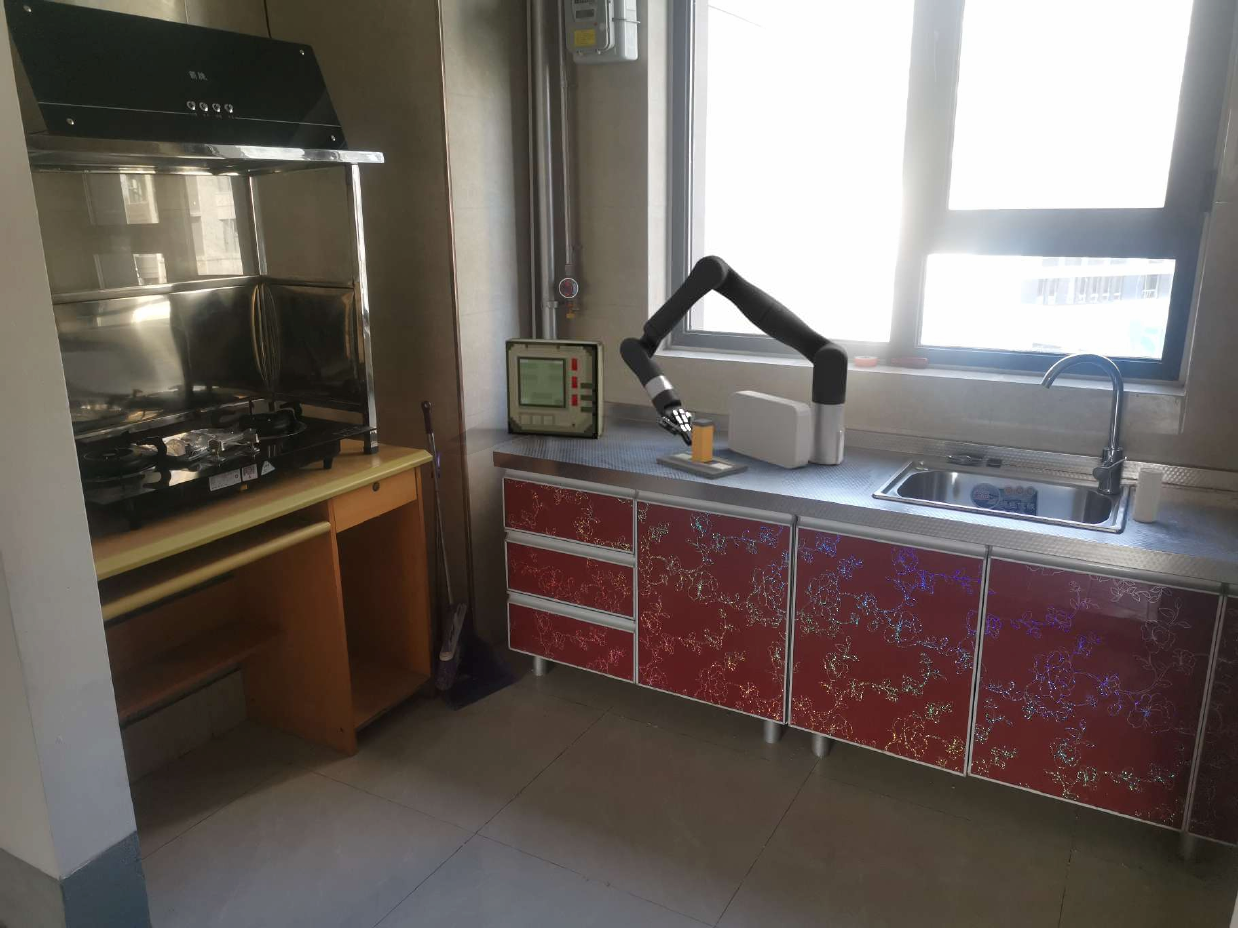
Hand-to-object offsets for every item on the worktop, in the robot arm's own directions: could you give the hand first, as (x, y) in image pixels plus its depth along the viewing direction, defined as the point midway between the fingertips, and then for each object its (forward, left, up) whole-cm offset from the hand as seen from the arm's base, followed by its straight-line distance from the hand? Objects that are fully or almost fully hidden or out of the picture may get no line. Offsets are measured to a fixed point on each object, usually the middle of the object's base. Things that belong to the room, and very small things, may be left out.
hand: (692, 444), depth 257 cm
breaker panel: (-4, +2, -6) cm, 7 cm away
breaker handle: (-4, +2, -4) cm, 6 cm away
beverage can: (-112, +4, -6) cm, 112 cm away
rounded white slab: (-18, -15, -6) cm, 24 cm away
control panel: (+52, -17, -6) cm, 55 cm away
